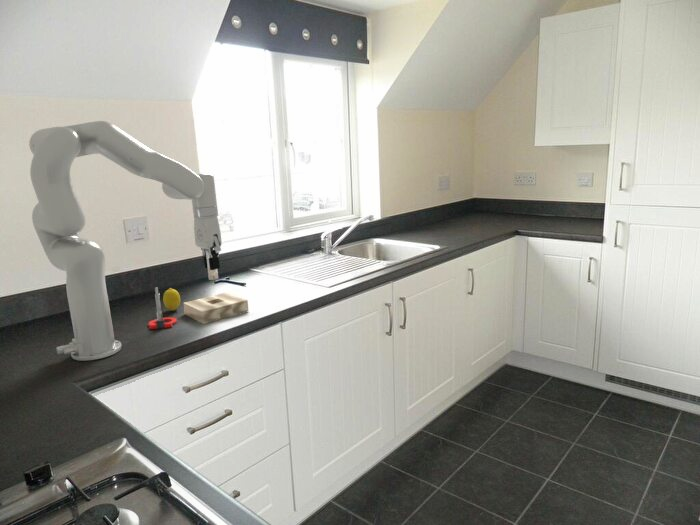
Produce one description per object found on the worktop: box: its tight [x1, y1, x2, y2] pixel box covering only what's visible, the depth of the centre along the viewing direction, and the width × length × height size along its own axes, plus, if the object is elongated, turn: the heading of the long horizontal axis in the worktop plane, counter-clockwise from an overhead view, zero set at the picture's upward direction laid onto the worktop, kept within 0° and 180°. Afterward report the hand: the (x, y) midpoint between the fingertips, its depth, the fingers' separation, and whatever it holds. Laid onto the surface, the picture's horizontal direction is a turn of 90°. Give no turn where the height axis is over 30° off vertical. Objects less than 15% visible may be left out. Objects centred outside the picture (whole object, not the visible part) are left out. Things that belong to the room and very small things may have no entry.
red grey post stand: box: [147, 287, 178, 330], centre depth 163 cm, size 8×13×9 cm
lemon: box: [162, 287, 181, 312], centre depth 176 cm, size 6×6×8 cm
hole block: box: [182, 291, 249, 325], centre depth 172 cm, size 16×14×4 cm
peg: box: [205, 246, 219, 281], centre depth 169 cm, size 3×3×11 cm
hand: (212, 267), depth 169 cm, fingers closed on peg, 3 cm apart
